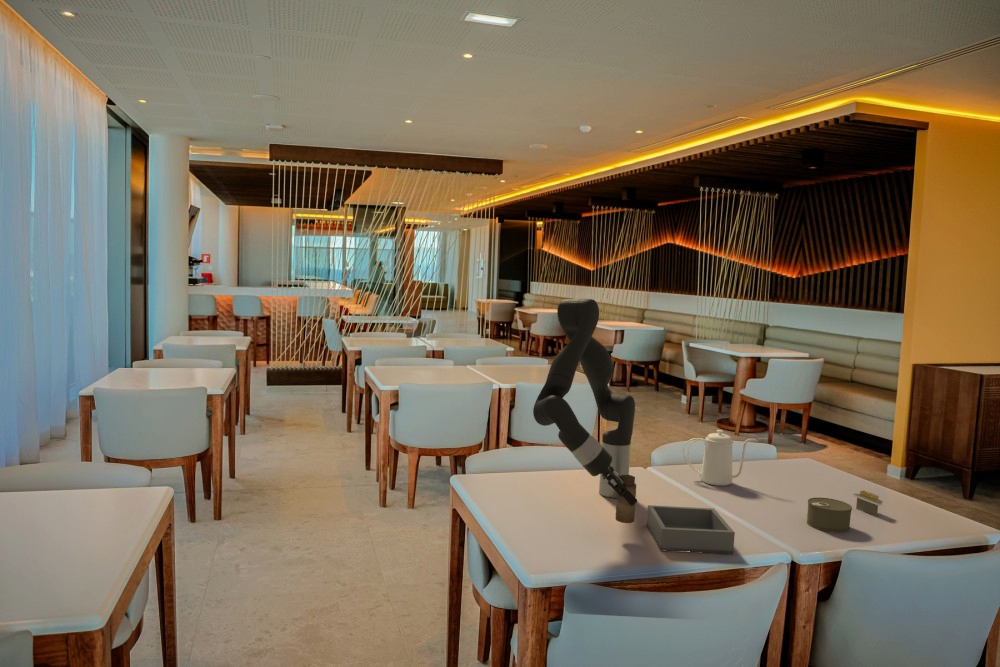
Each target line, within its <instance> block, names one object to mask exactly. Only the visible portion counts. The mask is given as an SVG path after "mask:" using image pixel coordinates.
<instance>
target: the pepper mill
mask: <svg viewBox="0 0 1000 667" xmlns="http://www.w3.org/2000/svg"><path fill="white" fill-rule="evenodd" d="M620 478H621V479H622V480H623V481H624V485H625V486H626V488H628V489H629V491H630V492H631V494H632V495H633V496H634V497H635V498H636V497H637V483H636V482H635V481H636V477H635V476H633V475H631V474H629V475H621V476H620ZM622 490H623V488H620V489H619V491H620V492H621V491H622ZM636 499H637V498H636ZM615 506H616V507H615V521H617V522H619V523H623V524H632V523H634V522H635V514H636V513H635V512H636V503H635V504H634V505H633V506H631V505H630V504H629V503H628V502H627V501H626V499H625V498H624V497H621V496H619V494H618V493H617V498H616V505H615Z"/></svg>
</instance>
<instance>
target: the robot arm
mask: <svg viewBox="0 0 1000 667" xmlns="http://www.w3.org/2000/svg"><path fill="white" fill-rule="evenodd" d="M556 310H557V311H556V312H557V318H558V322H559V324H560V327H561V329H562V331H563V332H564V334H565V336H566V337H567V339H568V341H569V342H568V343H567V344H566V345H565V346H564V347H563V348H562V349H561V350H560V351H559V352H558V353H557V354H556V356H555V357H554V358H553V360H552V362H551V365H550V367H549V370H548V373H547V376H546V380H545V383H544V384H543V387H542V389H541V390H540V393H539V394H538V395H537V397H536V400H535V401H534V402H535V403H534V405H533V408H532V409H533V410H532V411H533V417H534V418H533V419H534V420H535V422H536V423H537V424H539V425H540V426H544V427H545V426H551V425H553V424H555V425H556V427H557V428H558V429H559V431H558V435H557V436H558V439H559V440H560V443H562V444H563V445H564V446H565V447H566V448H567V450H568V451H570V453H571V454H572V455H573V457H574V458H575V459H576V461H578V463H579V464H580V465H581V466H582V467H583V468H584V469H585V470H586V471H587V473H589V475H590V476H592V477H597V476H599V485H598V486H599V488H598V494H599V495H601V496H603V497H606V498H610V499H611V498H613V499H617V493H618V494H619V496H621V497H624V498H625V499H626V501H627V502H628V503H629V504H630V505H631V506H633V505H634V504H635V505H636V504H637V502H638V499H637V498H635V497H634V496H633V495H632V494H631V492H630V491H629V489H628V488H626V486H625V485H624V481H623V480H622V479H621V478H620V476H621V475H630V460H631V458H630V457H631V442H632V438H633V437H632V436H633V434H634V433H633V430H634V421H635V415H636V414H635V412H636V401H635V399H634V397H633V396H632V395H630V394H625V393H616V392H613V391H611V390H610V387H609V383H610V381H611V380H612V378H613V376H614V375H613V374H614V371H615V367H614V362H613V360H612V357H611V355H610V353H609V351H608V349H607V348H606V347H605V346H604V345H603V344H602V343H601V342H600V341H599V340H597V339H596V338H594V336H593V334H594V333H595V330H596V328H597V325H598V322H599V319H600V308H599V304H598V303H597V301H596V300H595V299H593V298H592V299H591V298H567V299H562V300H561V301H560V302H559V303H558V305H557V309H556ZM579 363H580V366H581V368H582V371H583V373H584V375H585V376H586V379H587V381H588V383H589V385H590V388H591V391H592V393H593V396H594V400H595V403H596V407H597V410H598V414H599V415H600V417H601V418H602V419H604V420H606V421H608V422H615V423H618V424H617V427H616V429H612V430H611V429H610V430H607V431H604V432H603V433H602V437H601V438H602V439H601V443H600V442H599V441H598V440H597V439H596V438H595V437H594V436H592V434H590V433H589V432H588V430H586V429H585V427H584V426H583V425H582V424H581V423H580V422H579V420H578V417H577V416H576V414H575V412H574V411H573V409H572V407H571V406H570V404H569V403H568V401H566V399H564V397H565V396H566V395H568V393H569V392H570V391H571V388H572V385H573V381H574V378H575V375H576V371H577V368H578V366H579ZM620 488H623V490H622V491H621V492H620V491H619V489H620Z"/></svg>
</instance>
